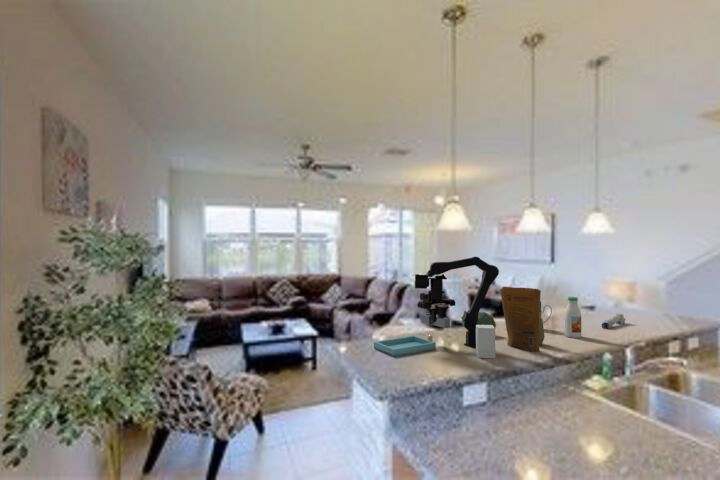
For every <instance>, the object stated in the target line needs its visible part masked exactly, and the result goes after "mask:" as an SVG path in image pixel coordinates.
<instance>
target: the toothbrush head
mask: <svg viewBox="0 0 720 480" xmlns="http://www.w3.org/2000/svg"><path fill="white" fill-rule="evenodd" d="M615 324H617V325H625V324H626V318H625V317H624V314H623V313H622V312H618V313H617V312H616V314H615V315H614V316H612V317H610V318H608V319H607V320H603V323H601V328H602V329H604V330H609V329H611V328H612V327H613V325H615Z"/></svg>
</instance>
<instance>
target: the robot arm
mask: <svg viewBox="0 0 720 480" xmlns="http://www.w3.org/2000/svg"><path fill="white" fill-rule="evenodd" d="M473 266H475V267H477V268H478V269H479V270H481V271H482V275H481V282H480V284H479V287H478V289H477V291H476V294H475V296H474V298H473V301H472V304H471V305H470V308H469V309H468V310H467V311H466V310H464V311H463V314H462V316H461V317H460V318H461V325H462V326H463V327H464V328H465V330H466V332H465V343H463V345H464V346H467V347H470V348H476V325H477V321H478V313H480V311H481V308H482V306H483V304H484V301H485V299H486V297H487V295H488V291H489V290H490V286H491V285H492V284H493V283H494V282H495V280H496V279H497V278H498V276H499V273H500V270H499V268H498V267H497V266H496V265H494V264H489V263H487V262H486V261H484V260H483V259H481V258H480V257H479V256H472V257H467V258H462V259H457V260H451V261H434V262H432V263H431V264H430V265H429V270H428V271H427V272H426V274H418V273H417V274H414V289H417V290H419V289H420V290H421V289H424V290H425V289H426V290H427V289H428V287H429V288H430V290H427V291H428V292H427V293H425V292H421V293H419V299H420V300H419V301H418V302H417V308H420V309H424V310H425V309H426V310H427V311H428V312H429V313H430V315H431V318H432V321H433V322H435V320H436V315H438V316H441V317H444V315H445V313H446V312H447V310H448V309H449V308H450V307H454V306H456V301H455V299H452V298H444V297H443V296H444V294H445V292H446V291H445V290H444V289H443V288H444V284H443V282H444V280H447V279H448V277H446V276H445V274H444V273H446V272H447V273H448V272H450V271H451V270H457V269H461V268H468V267H473ZM448 305H449V306H450V307H449V306H448Z"/></svg>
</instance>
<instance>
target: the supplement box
mask: <svg viewBox="0 0 720 480" xmlns="http://www.w3.org/2000/svg"><path fill="white" fill-rule="evenodd" d="M475 354H476V357H477V358H479V359H481V358H482V359H486V358H487V359H496V328H494V326H493V325H476V347H475Z"/></svg>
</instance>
